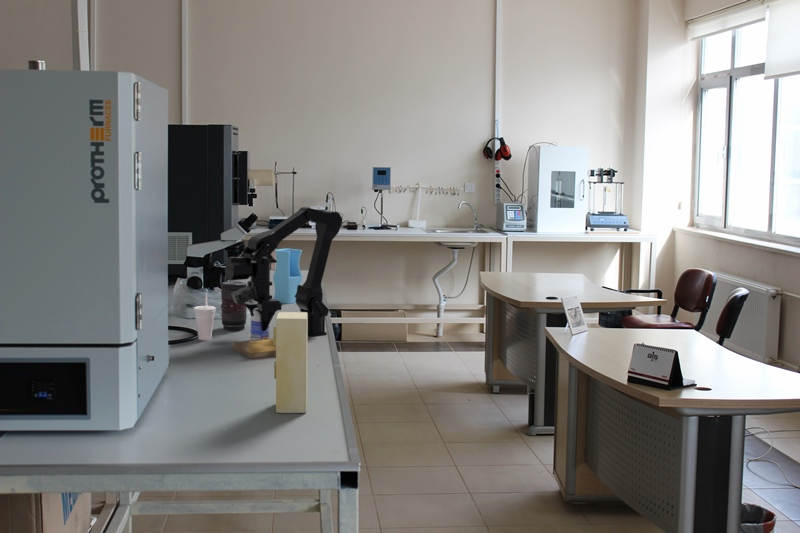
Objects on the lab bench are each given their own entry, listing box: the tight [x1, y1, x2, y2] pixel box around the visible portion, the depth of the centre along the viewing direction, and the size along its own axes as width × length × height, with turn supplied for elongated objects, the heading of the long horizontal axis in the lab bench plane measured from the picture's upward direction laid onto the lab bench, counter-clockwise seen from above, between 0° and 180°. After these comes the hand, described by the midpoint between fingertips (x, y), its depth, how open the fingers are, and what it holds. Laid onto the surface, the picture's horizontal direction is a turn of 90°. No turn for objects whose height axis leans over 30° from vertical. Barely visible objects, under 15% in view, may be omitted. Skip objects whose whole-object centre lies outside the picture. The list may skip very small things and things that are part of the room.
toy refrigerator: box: [272, 311, 309, 414], centre depth 175 cm, size 8×7×21 cm
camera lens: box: [220, 281, 248, 332], centre depth 255 cm, size 8×8×15 cm
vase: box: [272, 248, 303, 305], centre depth 306 cm, size 8×8×20 cm
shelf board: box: [232, 338, 276, 359], centre depth 228 cm, size 15×14×4 cm
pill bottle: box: [250, 308, 270, 341], centre depth 240 cm, size 5×5×10 cm
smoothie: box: [193, 292, 217, 341], centre depth 240 cm, size 6×6×14 cm
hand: (259, 329), depth 240 cm, fingers open, 6 cm apart
